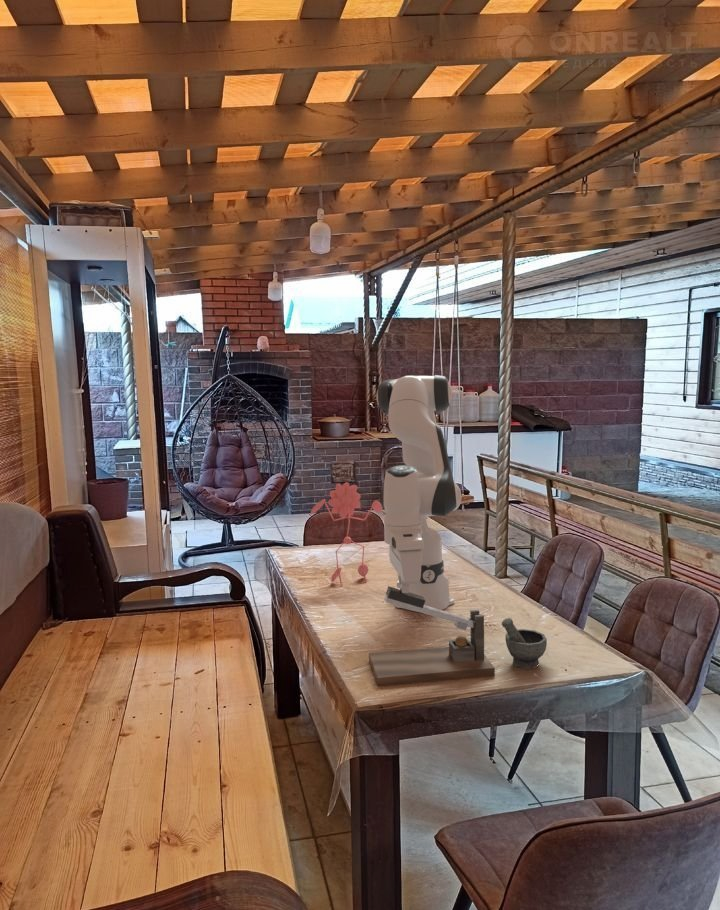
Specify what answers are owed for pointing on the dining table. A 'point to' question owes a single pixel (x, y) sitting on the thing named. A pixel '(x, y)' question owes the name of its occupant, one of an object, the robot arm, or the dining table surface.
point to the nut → (461, 641)
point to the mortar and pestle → (524, 645)
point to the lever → (425, 607)
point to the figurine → (345, 504)
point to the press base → (435, 661)
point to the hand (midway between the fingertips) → (404, 591)
